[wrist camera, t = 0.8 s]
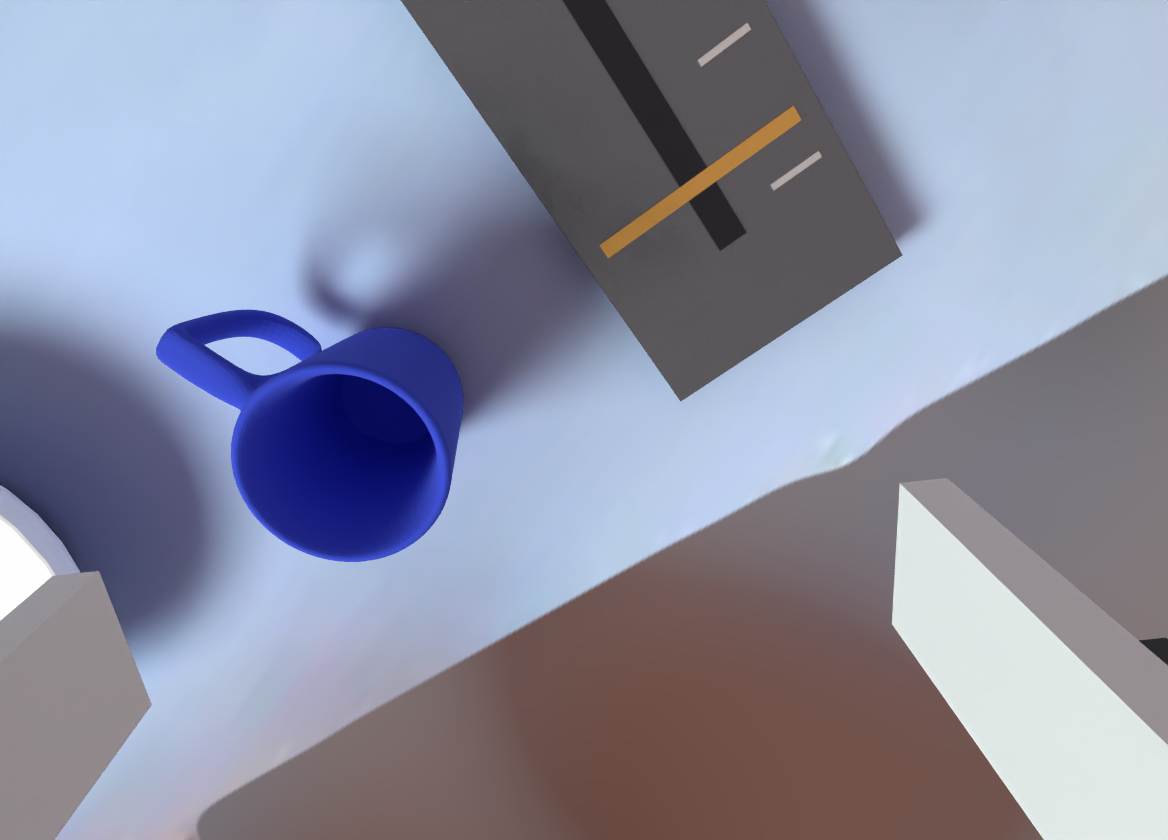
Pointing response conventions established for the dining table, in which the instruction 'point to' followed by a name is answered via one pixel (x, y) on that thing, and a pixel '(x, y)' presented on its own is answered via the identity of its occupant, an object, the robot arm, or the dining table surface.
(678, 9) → the console
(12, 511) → the bowl
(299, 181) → the dining table surface
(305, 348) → the mug
